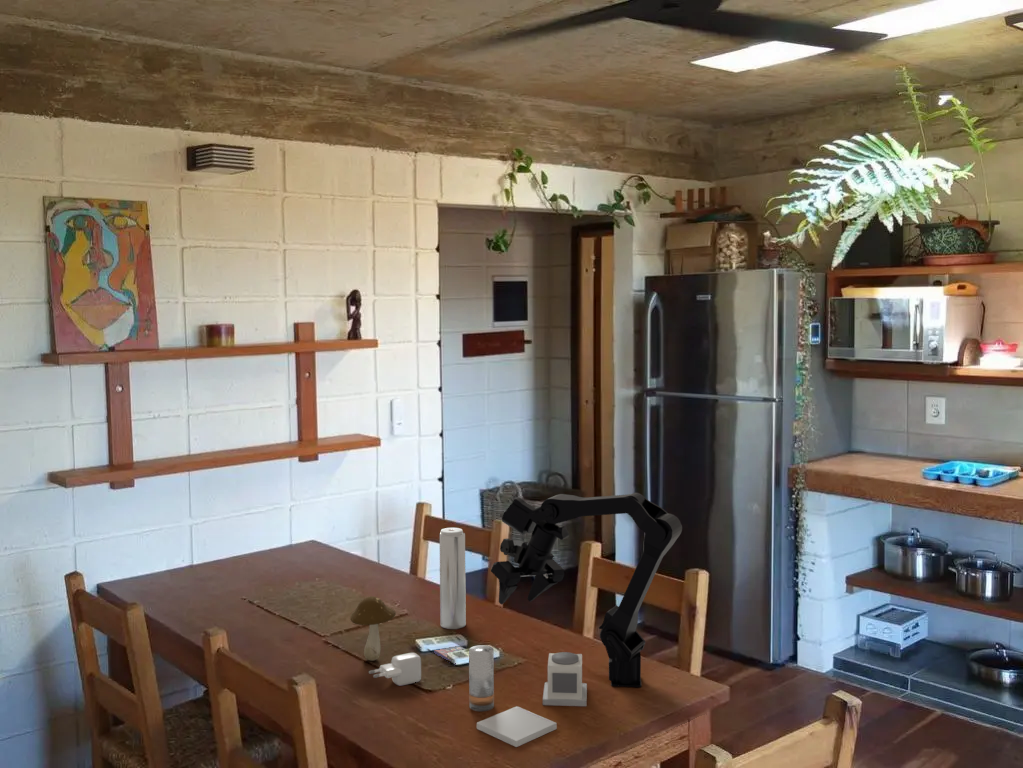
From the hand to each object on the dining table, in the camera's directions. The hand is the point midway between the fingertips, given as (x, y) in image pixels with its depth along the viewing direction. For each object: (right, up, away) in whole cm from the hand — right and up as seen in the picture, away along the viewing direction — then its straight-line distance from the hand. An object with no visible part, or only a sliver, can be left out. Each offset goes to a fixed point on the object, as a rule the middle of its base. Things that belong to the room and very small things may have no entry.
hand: (514, 601), depth 224 cm
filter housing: (+11, -16, -20) cm, 27 cm away
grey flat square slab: (0, -17, -35) cm, 39 cm away
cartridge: (-7, -16, -24) cm, 30 cm away
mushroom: (-33, -14, +2) cm, 36 cm away
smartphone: (-14, -14, +6) cm, 21 cm away
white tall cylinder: (-16, -12, +26) cm, 32 cm away
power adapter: (-26, -15, -13) cm, 33 cm away
